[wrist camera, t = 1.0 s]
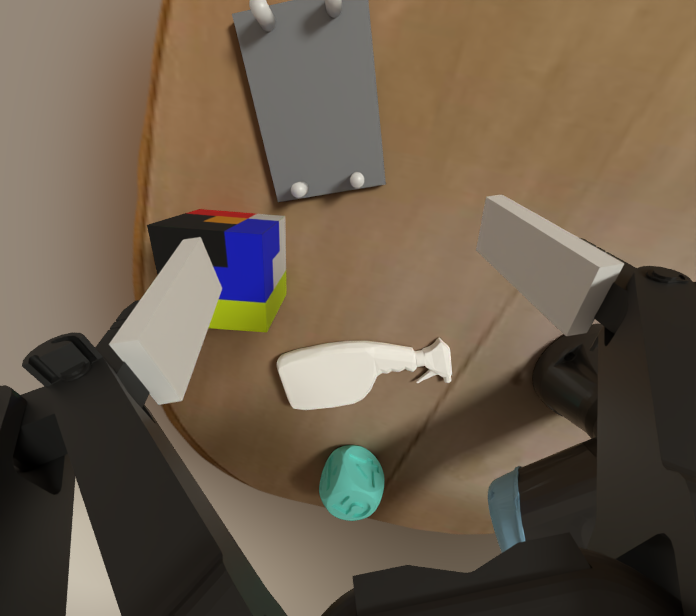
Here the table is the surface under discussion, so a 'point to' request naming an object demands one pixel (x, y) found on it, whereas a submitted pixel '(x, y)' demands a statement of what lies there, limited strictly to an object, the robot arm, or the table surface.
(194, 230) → the puzzle toy
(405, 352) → the spray bottle
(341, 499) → the decorative dice
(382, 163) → the pin tray
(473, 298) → the table surface
